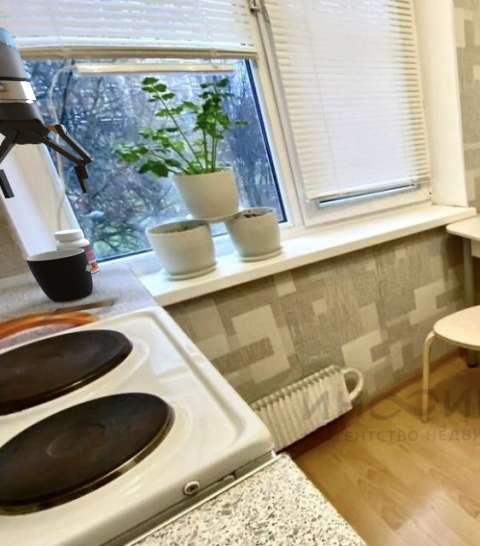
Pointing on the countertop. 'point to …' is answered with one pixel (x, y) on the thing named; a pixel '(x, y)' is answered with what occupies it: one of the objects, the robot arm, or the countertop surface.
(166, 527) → the countertop surface
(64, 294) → the mug
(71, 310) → the cork mat
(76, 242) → the pill bottle
